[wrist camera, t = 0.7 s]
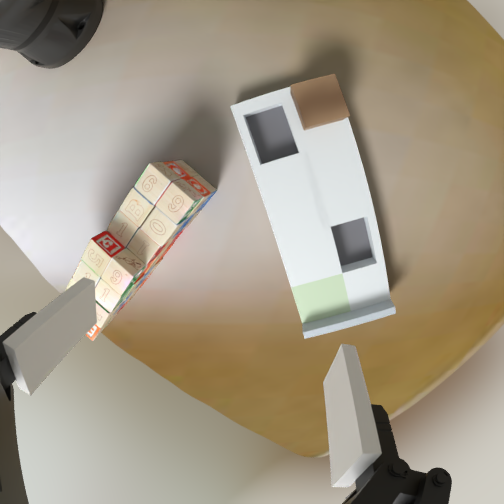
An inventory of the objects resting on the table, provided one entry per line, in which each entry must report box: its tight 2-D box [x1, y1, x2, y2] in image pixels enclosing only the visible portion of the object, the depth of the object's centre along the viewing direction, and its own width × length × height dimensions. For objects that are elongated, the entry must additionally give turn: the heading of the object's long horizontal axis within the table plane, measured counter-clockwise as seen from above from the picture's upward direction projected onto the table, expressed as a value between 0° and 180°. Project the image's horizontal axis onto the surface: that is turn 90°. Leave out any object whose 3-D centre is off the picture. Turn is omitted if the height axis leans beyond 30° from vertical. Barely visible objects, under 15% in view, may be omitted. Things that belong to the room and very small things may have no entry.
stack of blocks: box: [66, 160, 217, 341], centre depth 34 cm, size 21×6×12 cm, turn 139°
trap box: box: [230, 87, 396, 338], centre depth 34 cm, size 29×12×4 cm, turn 19°
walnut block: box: [290, 74, 350, 130], centre depth 28 cm, size 4×4×4 cm
